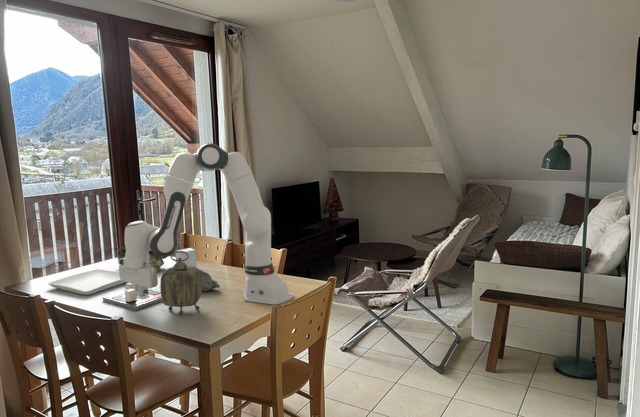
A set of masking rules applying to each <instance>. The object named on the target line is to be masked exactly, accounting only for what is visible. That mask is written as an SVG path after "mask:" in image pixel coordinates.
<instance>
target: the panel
mask: <svg viewBox="0 0 640 417" xmlns="http://www.w3.org/2000/svg"><path fill="white" fill-rule="evenodd" d="M102 302H104V303H108V304H110V305H114V306H117V307H121V308H125V309H128V310H132V311H134V312H136V311H138V310H142V309H144V308H147V307H151V306H153V305H156V304H159V303H163V301H162V297H161V290H160V291H159V290H156V289H153V288H148V289H146V290H143V295H141V296H140V295H136V300H134V301H131V302H129V301H126V300H125V290H122V291H118V292H116V293H112V294H109V295H106V296H105V295H104V296H103V297H102Z"/></svg>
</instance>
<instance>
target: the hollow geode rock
mask: <svg viewBox="0 0 640 417" xmlns="http://www.w3.org/2000/svg"><path fill="white" fill-rule="evenodd" d="M116 250H118V252H120V253H118V254H117V261H118V260H119V259H122V258H125V253H126V247H125V246H123V247H117V248H116ZM167 258H168V257H165V258H161V257H157V256H156V255H154V254H153V253H152V251H149V264H151V265H153V267H154V268H155V270H156V273H158V272H160V270H161V269H160V268H161V267H162V266H164V264H165V261H164V260H165V259H167Z"/></svg>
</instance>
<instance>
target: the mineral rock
mask: <svg viewBox="0 0 640 417" xmlns="http://www.w3.org/2000/svg"><path fill="white" fill-rule="evenodd" d="M198 269H199V268H198ZM199 271H200V273H201V279H202V292H207V291H211V290H214V289H216V288H217V289H219V288H220V287H221V286H220V284H219V283H218V281H216V280H214V279H212V276H211V275H210V273H208V272H206V271H204V270H201V269H199Z"/></svg>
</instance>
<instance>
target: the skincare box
mask: <svg viewBox="0 0 640 417" xmlns="http://www.w3.org/2000/svg"><path fill="white" fill-rule="evenodd" d="M176 251H184V252H186V253H187V254H188V255H189V258H188V259H187V260H186V261H182V262H184V263H185V264H186V265H187V266H192V267H196V268H197V253H196V250H195V249H194V248H192V247H188V248H183V249H179V250H177V249H176ZM174 254H175V260H178V259H179V258H181V260H184V259H186V258H187V257H188V256H187V255H186V254H185V253H174ZM176 263H177V261H175V264H176Z"/></svg>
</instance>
